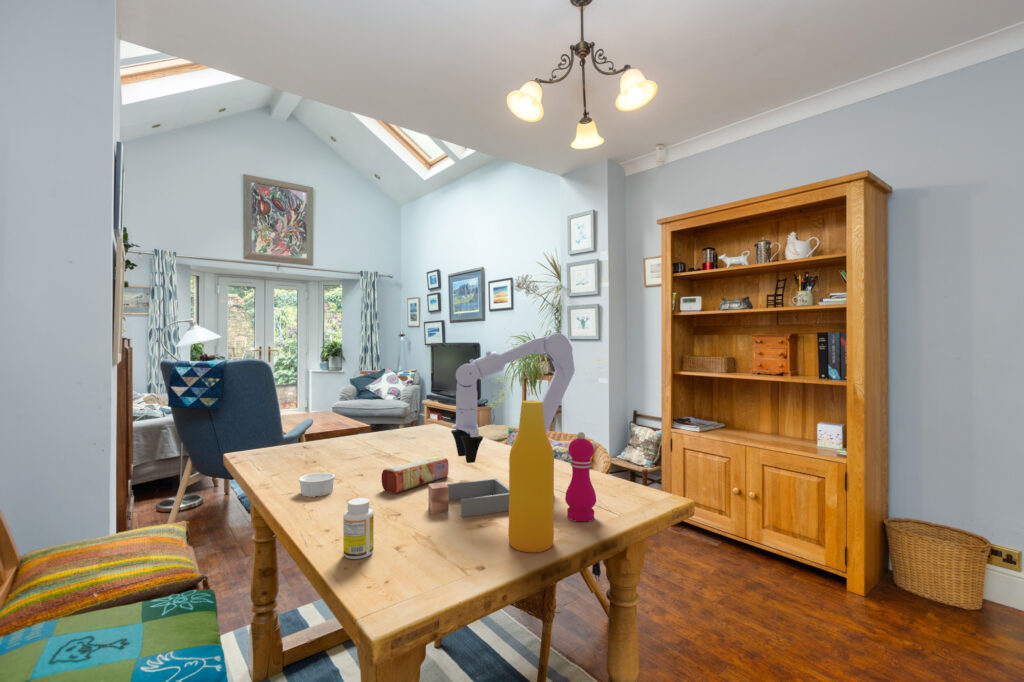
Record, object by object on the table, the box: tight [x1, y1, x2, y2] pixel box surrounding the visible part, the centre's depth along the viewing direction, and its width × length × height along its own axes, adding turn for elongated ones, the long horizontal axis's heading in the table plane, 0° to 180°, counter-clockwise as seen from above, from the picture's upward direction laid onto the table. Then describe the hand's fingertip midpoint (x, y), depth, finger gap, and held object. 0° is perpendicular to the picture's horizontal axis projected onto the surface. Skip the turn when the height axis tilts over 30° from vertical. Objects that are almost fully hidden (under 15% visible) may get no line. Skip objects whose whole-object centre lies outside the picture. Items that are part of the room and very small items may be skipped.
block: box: [427, 482, 450, 514], centre depth 117 cm, size 4×4×6 cm
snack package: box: [381, 455, 449, 494], centre depth 139 cm, size 21×7×7 cm, turn 145°
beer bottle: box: [507, 399, 555, 553], centre depth 98 cm, size 9×9×29 cm
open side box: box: [446, 477, 509, 518], centre depth 122 cm, size 14×14×4 cm
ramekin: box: [298, 472, 336, 498], centre depth 130 cm, size 9×9×4 cm
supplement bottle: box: [342, 497, 375, 560], centre depth 93 cm, size 6×6×10 cm
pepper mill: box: [564, 431, 597, 522], centre depth 113 cm, size 7×7×20 cm
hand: (466, 459), depth 129 cm, fingers open, 7 cm apart
